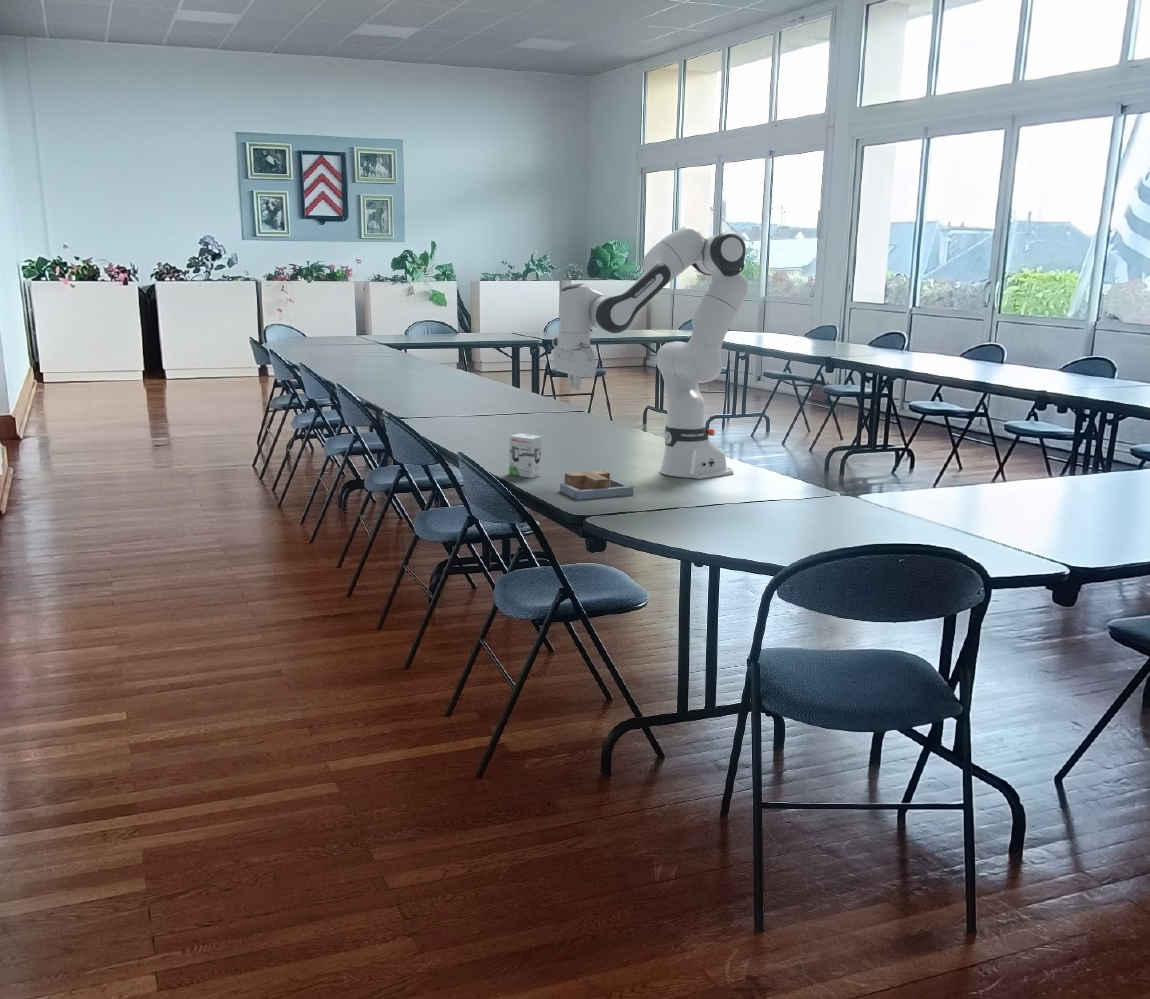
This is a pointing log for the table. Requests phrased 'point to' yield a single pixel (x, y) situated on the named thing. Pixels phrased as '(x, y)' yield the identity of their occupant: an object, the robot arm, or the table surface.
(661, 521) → the table surface
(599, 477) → the t block
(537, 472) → the ink box
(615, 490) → the bay fence
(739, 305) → the robot arm
